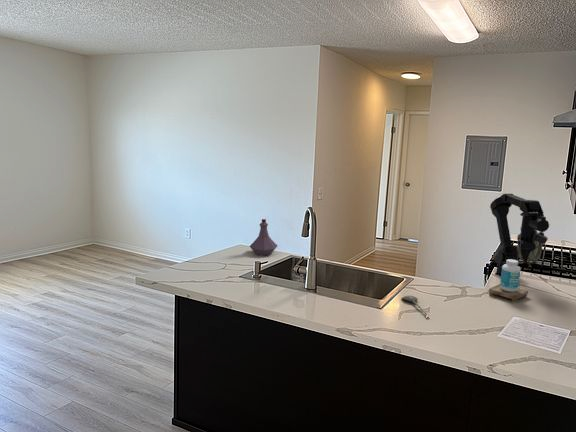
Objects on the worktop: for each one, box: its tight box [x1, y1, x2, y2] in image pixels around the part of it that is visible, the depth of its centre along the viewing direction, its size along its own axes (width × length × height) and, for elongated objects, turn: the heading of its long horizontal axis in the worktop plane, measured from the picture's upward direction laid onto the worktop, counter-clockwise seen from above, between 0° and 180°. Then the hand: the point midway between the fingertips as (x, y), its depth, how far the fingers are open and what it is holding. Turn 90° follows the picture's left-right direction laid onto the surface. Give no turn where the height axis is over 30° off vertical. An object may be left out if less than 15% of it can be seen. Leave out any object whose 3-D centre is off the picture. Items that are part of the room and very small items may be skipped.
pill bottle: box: [499, 259, 521, 292], centre depth 201 cm, size 8×7×14 cm
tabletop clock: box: [516, 230, 544, 268], centre depth 247 cm, size 14×9×25 cm, turn 137°
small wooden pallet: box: [488, 283, 529, 304], centre depth 203 cm, size 12×12×3 cm
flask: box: [249, 218, 278, 256], centre depth 260 cm, size 16×16×20 cm
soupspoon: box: [401, 295, 428, 315], centre depth 189 cm, size 22×3×7 cm
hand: (524, 258), depth 215 cm, fingers open, 9 cm apart
